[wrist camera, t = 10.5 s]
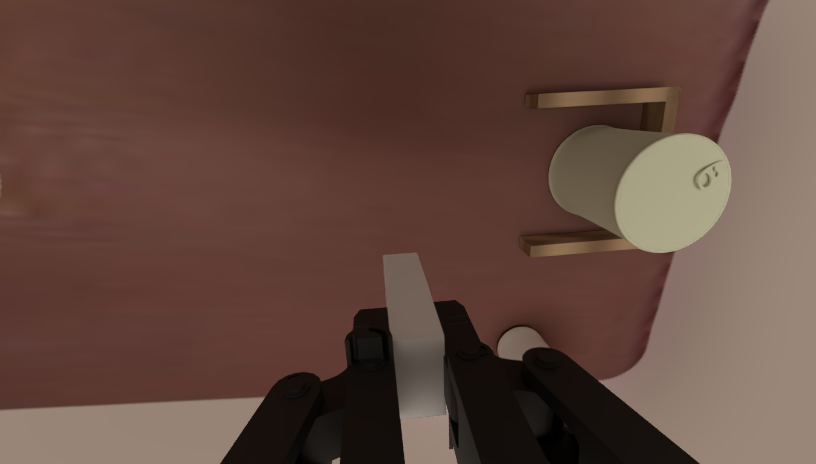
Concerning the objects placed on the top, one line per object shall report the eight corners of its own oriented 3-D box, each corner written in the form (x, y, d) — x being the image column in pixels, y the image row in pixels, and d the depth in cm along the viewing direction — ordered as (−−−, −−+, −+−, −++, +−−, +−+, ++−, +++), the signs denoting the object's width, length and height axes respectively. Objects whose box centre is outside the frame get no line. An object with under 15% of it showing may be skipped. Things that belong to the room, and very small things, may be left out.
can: (648, 180, 41) (755, 209, 30) (573, 231, 42) (648, 278, 31) (611, 105, 38) (713, 105, 27) (531, 161, 39) (597, 184, 28)
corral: (519, 247, 42) (530, 257, 39) (525, 94, 37) (538, 93, 34) (636, 237, 43) (655, 246, 40) (657, 87, 38) (680, 86, 35)
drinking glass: (480, 334, 45) (532, 440, 31) (535, 309, 45) (613, 404, 30) (501, 377, 47) (559, 495, 33) (553, 353, 47) (634, 462, 32)
